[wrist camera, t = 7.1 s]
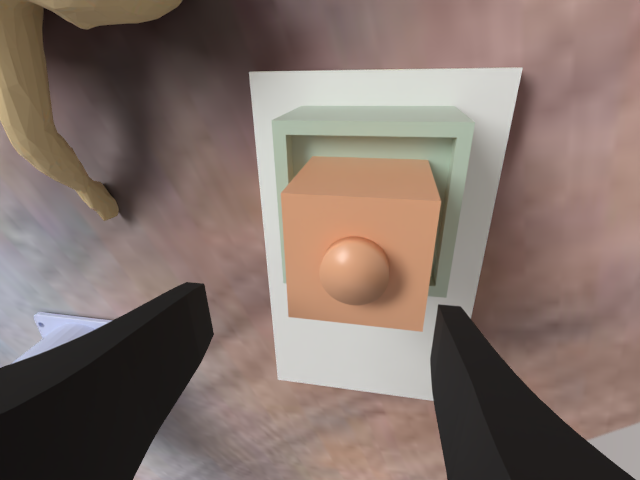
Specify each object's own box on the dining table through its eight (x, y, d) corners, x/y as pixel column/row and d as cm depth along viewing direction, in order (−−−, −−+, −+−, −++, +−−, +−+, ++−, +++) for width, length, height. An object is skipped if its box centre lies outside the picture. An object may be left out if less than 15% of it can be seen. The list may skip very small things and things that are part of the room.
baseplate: (451, 391, 25) (465, 477, 20) (281, 369, 27) (255, 441, 22) (515, 67, 16) (571, 70, 11) (256, 71, 18) (200, 76, 13)
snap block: (415, 262, 16) (423, 344, 11) (314, 254, 16) (283, 328, 12) (427, 159, 14) (444, 209, 9) (312, 156, 14) (274, 200, 10)
